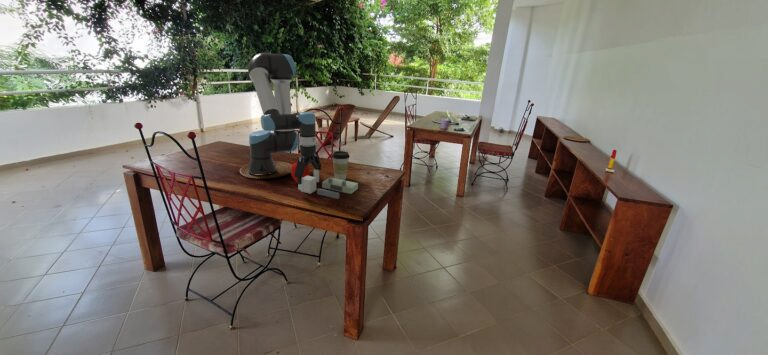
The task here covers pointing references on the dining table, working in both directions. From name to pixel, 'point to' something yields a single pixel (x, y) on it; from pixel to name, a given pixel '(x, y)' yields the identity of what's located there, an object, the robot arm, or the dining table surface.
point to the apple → (293, 169)
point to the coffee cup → (340, 164)
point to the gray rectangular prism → (309, 184)
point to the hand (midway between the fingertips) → (309, 185)
